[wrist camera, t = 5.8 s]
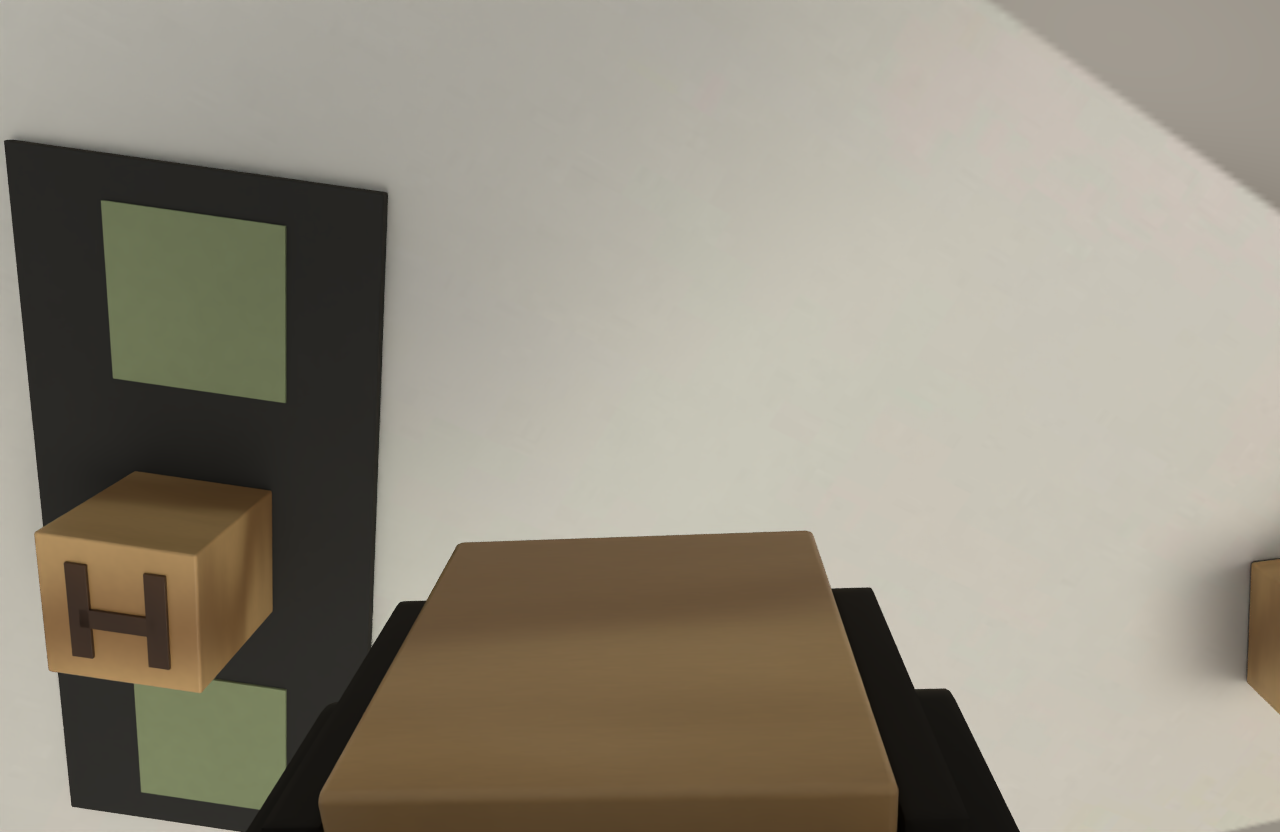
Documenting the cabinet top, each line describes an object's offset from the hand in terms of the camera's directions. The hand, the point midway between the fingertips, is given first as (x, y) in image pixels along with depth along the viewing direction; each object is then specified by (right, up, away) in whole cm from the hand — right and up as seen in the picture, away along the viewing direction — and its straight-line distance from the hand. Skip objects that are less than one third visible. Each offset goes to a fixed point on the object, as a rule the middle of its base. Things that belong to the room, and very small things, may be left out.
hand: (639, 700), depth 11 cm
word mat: (-14, 0, +17) cm, 23 cm away
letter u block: (0, 0, 0) cm, 0 cm away
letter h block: (-14, -1, +17) cm, 22 cm away
